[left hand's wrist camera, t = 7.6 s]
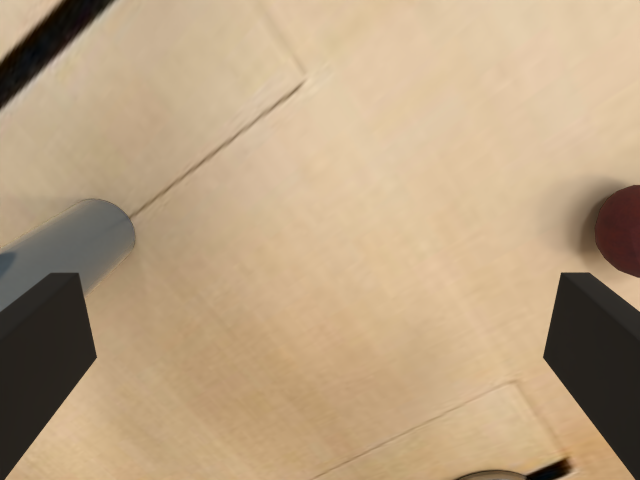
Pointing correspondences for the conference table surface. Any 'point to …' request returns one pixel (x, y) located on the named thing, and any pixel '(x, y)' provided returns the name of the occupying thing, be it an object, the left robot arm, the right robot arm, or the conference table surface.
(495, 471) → the right robot arm
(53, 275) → the left robot arm
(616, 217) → the dark maroon ball
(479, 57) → the conference table surface
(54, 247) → the bottle
